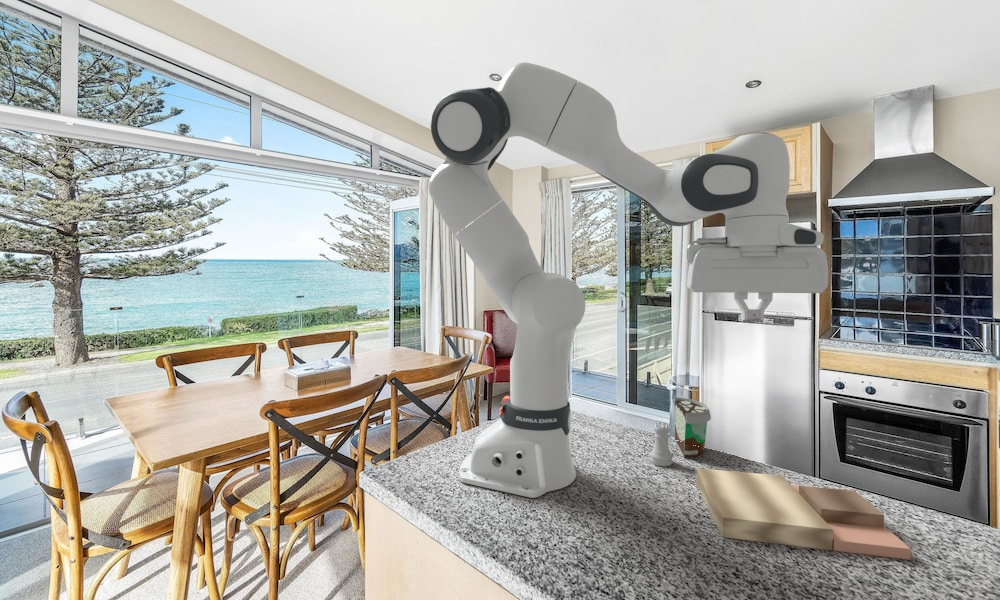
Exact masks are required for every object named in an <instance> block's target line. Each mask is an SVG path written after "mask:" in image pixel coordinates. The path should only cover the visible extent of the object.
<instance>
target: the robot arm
mask: <svg viewBox="0 0 1000 600" xmlns="http://www.w3.org/2000/svg"><path fill="white" fill-rule="evenodd" d="M617 121H618V120H617V115H616V111H615V109H614V106H613V104H612V102H611V101H610V100H608V99H607V98H606V97H605V96H604V95H602V94H601V93H600V91H599V92H598V90H596V89H594V88H593V87H591V86H589V85H587V84H586V83H583V82H581V81H580V80H577V79H576V78H573V77H571V76H569V75H567V74H565V73H562V72H560V71H557V70H556V69H555V70H554V69H552V68H548V67H546V66H542V65H540V64H539V65H538V64H535V63H530V62H527V61H526V62H520V63H516V64H515V65H513V66H512V67H511V68H510V69H509V70H508V71H507V72H506V73H505V74H504V76H503V78H502V79H501V82H500V84H499V86H498V88H497V89H495V88H494V87H491V86H488V87H482V88H481V87H479V88H471V89H470V88H469V89H461V90H457V91H454V92H451V93H449V94H447V95H445V96H444V97H443V98H441V100H439V101H438V103H436V105H435V107H434V109H433V111H432V114H431V120H430V133H431V137H432V139H433V142H434V144H435V146H436V148H437V149H438V150H439V152H440V153H441V154H442V155H444V156H445V159H444V161H443V162H442V164H441V165H439V166H438V167H437V168H436V169H435V170H434V172H433V173H432V175H431V177H430V178H429V181H428V193H429V195H430V197H431V199H432V202H433V203H434V205H435V207H436V210H437V211H438V212H439V215H440V217H441V219H442V220H443V222H444V223H445V224H446V227H447V228H448V229H449V231H450V232H451V233H452V235H453V236H454V238H455V239H456V240H457V241H458V243H459V244H460V247H462V249H463V250H464V251H465V253H466V254H467V256H468V257H469V258H470V259H471V261H472V263H473V264H475V266H476V268H477V269H478V271H479V272H480V274H481V275H482V277H483V279H484V280H485V282H486V284H487V285H488V287H489V289H490V291H491V292H492V293H493V295H494V297H495V299H496V300H497V302H498V303H499V305H500V306H501V307H502V309H503V311H504V312H505V313H506V315H507V317H508V318H509V319H510V320H511V321H512V322H513V323H515V324H516V338H515V343H514V349H513V353H512V356H511V358H510V360H509V361H510V362H509V372H510V373H509V375H510V376H509V382H510V383H509V392H510V393H509V395H505V396H504V397H503V398H502V400H501V404H500V406H499V413H498V414H499V417H500V418H499V419H498V420H496V421H495V422H494V423H492V424H491V425H490V426H488V427H486V428H485V429H484V430H483V431H481V432H480V433H479V435H478V436H477V437H476V438H475V441H474V443H473V446H472V449H471V453H470V454H468V455H467V456H466V457H465V459H464V460H463V461H462V463H461V465H460V467H459V475H458V476H459V479H460V482H461V483H465V484H468V485H473V486H477V487H481V488H486V489H491V490H495V491H500V492H504V493H509V494H514V495H517V496H522V497H525V498H526V497H527V498H533V499H534V498H539V497H541V496H542V495H545V494H546V493H549V492H552V491H556V490H561V489H564V488H565V487H567V486H569V485H571V484H572V483H573V482H574V481H575V480H576V478H577V472H576V468H575V465H574V462H573V457H572V451H571V446H570V430H571V416H572V415H571V412H572V411H571V405H570V402H569V400H568V399H569V397H568V396H569V393H568V392H569V391H568V390H569V388H568V386H569V385H568V383H569V362H570V356H571V349H572V345H573V340H574V337H575V333H576V329H577V327H578V326H579V324H580V323H581V321H582V320H583V317H584V315H585V311H586V299H585V295H584V293H583V291H582V289H581V287H579V285H577V283H575V282H574V281H573V280H571V279H569V278H568V277H566V276H565V275H562V274H560V273H556V272H555V273H554V272H545V271H544V270H543V269H542V267H541V265H540V263H539V262H538V260H537V258H536V255H535V253H534V251H533V249H532V247H531V244H530V239H529V236H528V233H527V232H526V231H525V229H524V228H523V226H522V225H521V224H520V222H519V221H518V219H517V218H516V215H515V214H514V213H513V212H512V210H511V209H510V207H509V206H508V205H507V203H506V202H505V200H503V197H502V196H501V195H500V193H499V192H498V191H497V189H496V188H495V186H494V185H493V183H492V181H491V179H490V176H489V173H488V171H490V169H491V168H492V167H493V165H494V164H495V162H496V161H497V159H498V158H499V157H500V155H501V154H502V153H503V151H504V149H505V147H506V145H507V143H508V140H509V139H510V138H513V137H522V138H525V139H528V140H530V141H533V142H534V143H536V144H538V145H539V146H542V147H544V148H546V149H547V150H550V151H551V152H554V153H556V154H557V155H560V156H562V157H565V158H566V159H568V160H571V161H573V162H575V163H577V164H580V165H581V166H583V167H585V168H587V169H589V170H591V171H592V172H595V173H596V174H598V175H599V176H601V177H603V178H604V179H605V180H608V181H609V182H611V183H613V184H615V185H616V186H618V187H620V188H621V189H623V190H624V191H627V192H628V193H630V194H632V195H633V196H635V197H636V198H639V199H640V200H641V201H642V202H643V203H645V205H647V207H648V208H649V209H650V210H651V212H652V213H653V214H654V215H655V217H656V218H658V219H659V220H660V221H661V222H662V223H664V224H666V225H668V226H670V227H683V226H687V225H690V224H692V223H694V222H696V221H699V220H701V219H705V218H709V217H710V216H714V215H716V214H723V215H724V217H725V221H724V222H725V223H724V224H725V225H724V226H725V228H724V237H712V238H711V237H709V238H707V237H698V238H696V240H694V241H691V242H690V243H688V246H687V248H686V249H687V250H686V258H687V259H686V260H687V262H688V263H689V265H688V271H687V277H686V287H687V288H688V290H689V291H690V292H691V293H726V294H727V293H730V294H731V293H733V296H734V298H733V300H734V301H735V303H736V304H737V305H738V307H739V309H740V320H742V321H760V322H763V321H764V320H765V311H766V310H767V308H768V307H769V306H770V305H771V303H772V301H773V296H774V294H822V293H823V292H824V291H825V290H826V289H827V288H828V285H829V264H828V259H827V254H826V253H825V251H824V250H823V249H822V248H820V247H819V246H821V245H823V244H824V239H825V238H824V237H825V236H824V233H823V232H821V231H818V230H815V229H811V228H806V227H804V226H799V225H795V224H792V223H789V212H788V209H787V204H786V203H787V202H786V201H787V196H788V193H789V191H790V178H791V173H790V168H791V166H790V154H789V150H788V146H787V144H786V142H785V140H784V139H783V138H782V137H780V136H778V135H776V134H773V133H769V132H752V133H747V134H743V135H740V136H738V137H736V138H735V139H734V140H733V141H731V142H729V144H727V145H725V146H723V147H722V148H719V149H717V150H715V151H711V152H708V153H706V154H702V155H698V156H697V157H695V158H693V159H691V160H689V161H687V162H686V163H685V164H683V165H682V166H680V167H679V168H678V169H665V168H661V167H660V166H658V165H656V164H654V163H652V162H651V161H650V160H648V159H646V158H644V157H643V156H641V155H639V154H638V153H636V152H635V151H633V150H631V149H630V148H629V147H628V146H626V144H625V143H624V142H623V140H622V139H621V137H620V134H619V129H618V123H617ZM749 293H750V294H751V293H752V294H753V293H754V294H755V293H756V294H758V295H757V298H758V300H760V301H759V303H758V305H757V306H756V308H755V309H751V308H749V307H748V305H747V303H746V302H745V301H747V300H748V296H749Z"/></svg>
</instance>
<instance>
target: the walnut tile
mask: <svg viewBox="0 0 1000 600" xmlns="http://www.w3.org/2000/svg"><path fill="white" fill-rule="evenodd" d="M798 486H799V494H800V495H801V496H802V497H803V498H804V499H805V500H806V501H807V502H808V504H809V505H810V506H811V507H812V508H813V509H814V510H815V511H816V512H817V513H818V514H819V515H820V516H821V517H822V518H823V520H824V521H825V522H830V523H839V524H849V525H858V526H867V527H876V528H883V527H884V526H885V523H884V521H885V514H884V513H882V512H881V511H880V509H877V508H876V507H875V506H874V505H873V504H871V503H870V501H868V500H866V498H865V497H863V496H862V495H861V494H860V493H858V491H856V490H849V489H839V488H831V489H830V488H829V487H819V486H818V487H816V486H809V485H798Z"/></svg>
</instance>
